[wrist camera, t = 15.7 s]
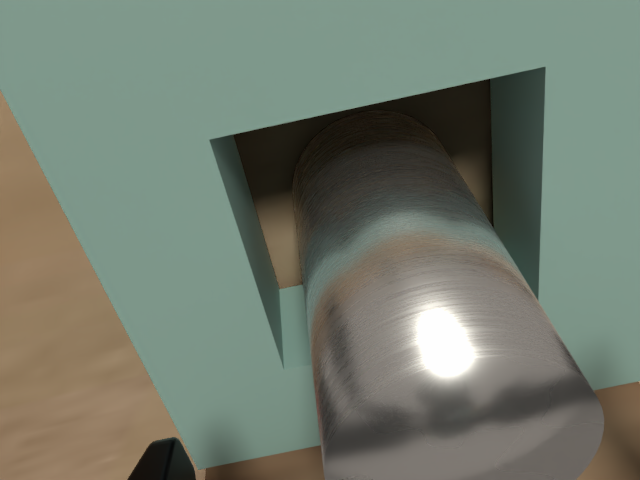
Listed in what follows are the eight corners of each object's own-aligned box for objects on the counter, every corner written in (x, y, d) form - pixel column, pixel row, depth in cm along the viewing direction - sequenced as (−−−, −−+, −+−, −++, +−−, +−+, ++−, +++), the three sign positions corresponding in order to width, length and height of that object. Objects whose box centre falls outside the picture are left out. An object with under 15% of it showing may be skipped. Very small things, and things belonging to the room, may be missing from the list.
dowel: (309, 263, 16) (348, 555, 10) (276, 130, 14) (297, 393, 7) (453, 232, 16) (592, 507, 9) (443, 94, 14) (618, 328, 7)
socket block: (205, 383, 18) (198, 469, 16) (19, -35, 11) (-46, 1, 9) (594, 303, 18) (650, 379, 15) (645, -178, 11) (759, -182, 8)
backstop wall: (229, 430, 20) (221, 628, 15) (211, 391, 19) (197, 591, 14) (585, 358, 19) (699, 536, 14) (589, 313, 18) (715, 490, 13)
